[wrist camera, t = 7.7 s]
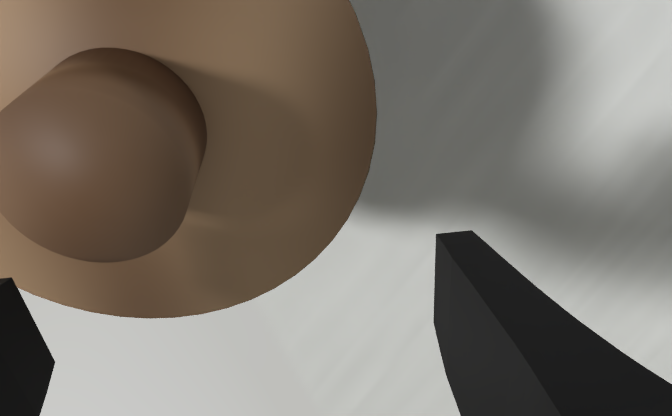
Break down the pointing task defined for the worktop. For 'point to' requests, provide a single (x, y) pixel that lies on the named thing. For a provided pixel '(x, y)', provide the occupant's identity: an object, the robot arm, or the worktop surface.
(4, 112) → the walnut lid
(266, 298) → the worktop surface
